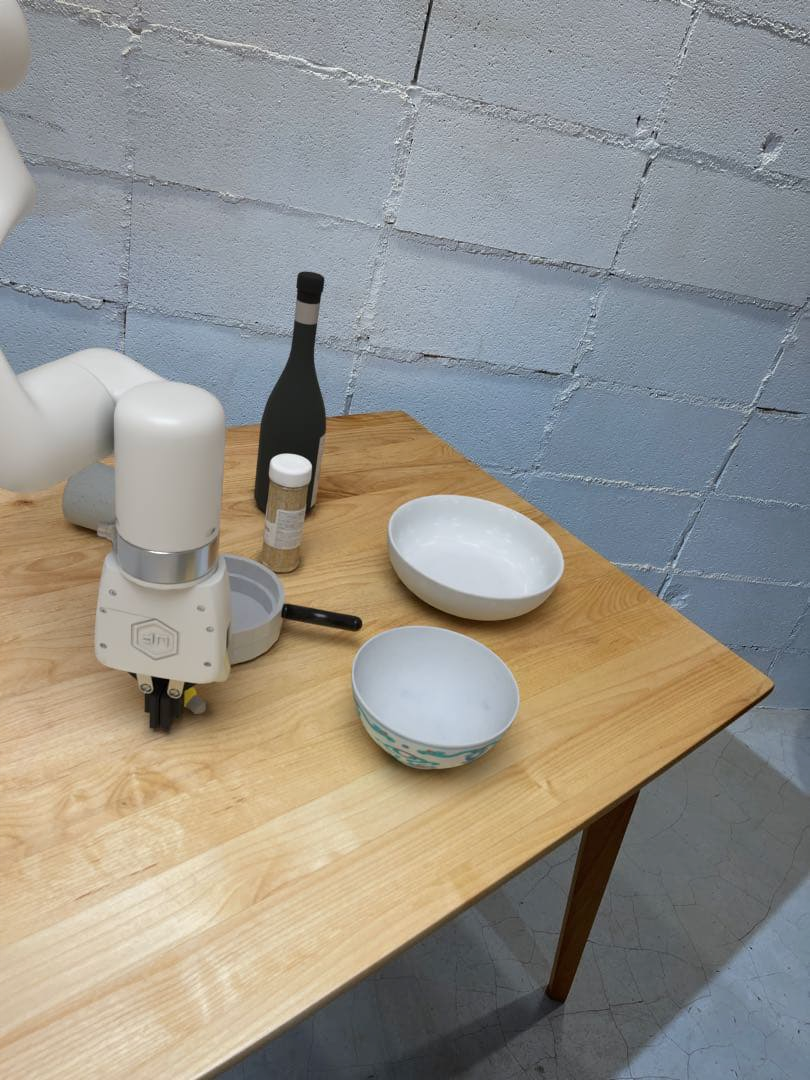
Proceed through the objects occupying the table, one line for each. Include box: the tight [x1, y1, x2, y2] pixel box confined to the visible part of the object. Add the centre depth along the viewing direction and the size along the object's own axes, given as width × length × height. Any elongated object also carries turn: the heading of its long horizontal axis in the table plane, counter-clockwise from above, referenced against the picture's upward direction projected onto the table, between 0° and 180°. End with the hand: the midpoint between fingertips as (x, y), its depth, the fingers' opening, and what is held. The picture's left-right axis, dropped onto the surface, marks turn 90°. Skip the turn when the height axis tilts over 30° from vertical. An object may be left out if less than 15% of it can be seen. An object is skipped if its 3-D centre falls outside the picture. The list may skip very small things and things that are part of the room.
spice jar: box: [260, 454, 312, 573], centre depth 92 cm, size 5×5×13 cm
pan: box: [219, 552, 286, 666], centre depth 83 cm, size 13×13×4 cm
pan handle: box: [281, 602, 364, 633], centre depth 83 cm, size 9×2×2 cm, turn 86°
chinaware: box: [350, 625, 521, 770], centre depth 73 cm, size 15×15×8 cm
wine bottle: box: [253, 270, 327, 516], centre depth 98 cm, size 8×8×30 cm
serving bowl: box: [386, 494, 565, 622], centre depth 96 cm, size 21×21×7 cm
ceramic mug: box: [61, 461, 116, 532], centre depth 94 cm, size 11×8×8 cm
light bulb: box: [184, 686, 207, 715], centre depth 74 cm, size 3×6×4 cm, turn 62°
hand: (164, 718), depth 71 cm, fingers closed
